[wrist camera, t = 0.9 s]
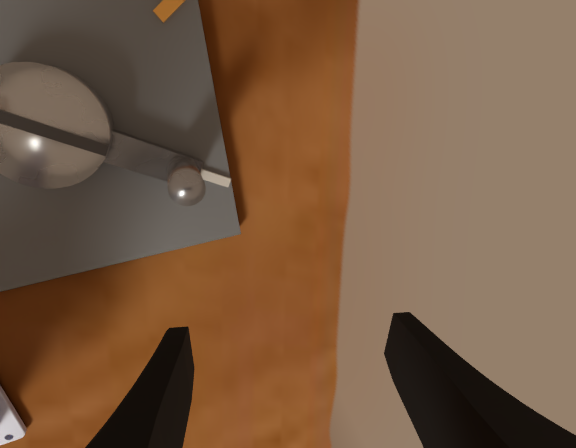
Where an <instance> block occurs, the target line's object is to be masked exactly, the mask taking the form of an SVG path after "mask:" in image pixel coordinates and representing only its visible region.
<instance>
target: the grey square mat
mask: <svg viewBox="0 0 576 448" xmlns="http://www.w3.org/2000/svg"><path fill="white" fill-rule="evenodd" d="M11 62H35V63H40V64H45V65H49V66H54V67H58V68H61V69H64V70H67V71H69V72H71V73H73V74H75V75H77V76H78V77H80V78H82V79H83V80H84V81H86V82H87V83H88V84H90V85H91V86H92V87H93V88H94V89H95V90H96V91H97V92H98V94H99V95H100V96H101V97H102V99H103V100H104V102H105V103H106V105H107V107H108V109H109V111H110V114H111V117H112V121H113V126H114V129H115V130H118V131H121V132H124V133H127V134H130V135H132V136H135V137H138V138H141V139H144V140H147V141H150V142H153V143H155V144H158V145H161V146H164V147H167V148H170V149H173V150H176V151H179V152H181V153H184V154H187V155H190V156H193V157H196V158H199V159H202V161H203V165H202V168H201V171H200V174H201V176H202V178H203V180H204V182H205V186H206V192H205V195H204V197H203V199H202V200H201V201H200V202H199V203H197V204H195V205H193V206H181V205H179V204H177V203H175V202H174V201H173V200H172V199H171V197H170V195H169V193H168V183H167V181H163V180H160V179H157V178H154V177H150V176H147V175H144V174H141V173H137V172H134V171H131V170H127V169H124V168H121V167H118V166H114V165H111V164H108V163H105V162H103V163H102V164H101V165H100V167H99V168H98V169H97V170H96V171H95V172H94V173H93V174H92V175H91V176H89V177H88V178H87V179H85V180H83V181H81V182H79V183H77V184H74V185H72V186H67V187H63V188H51V189H46V188H36V187H32V186H27V185H24V184H21V183H18V182H16V181H13V180H11V179H9V178H7V177H5V176H3V175H2V174H0V292H1V291H5V290H9V289H14V288H18V287H22V286H26V285H30V284H34V283H39V282H43V281H47V280H51V279H55V278H59V277H64V276H68V275H72V274H76V273H80V272H84V271H89V270H93V269H97V268H101V267H105V266H109V265H113V264H118V263H122V262H126V261H130V260H134V259H138V258H143V257H147V256H151V255H155V254H159V253H163V252H168V251H172V250H176V249H180V248H184V247H188V246H193V245H197V244H201V243H205V242H209V241H213V240H218V239H222V238H226V237H230V236H234V235H238V234H241V232H240V227H239V221H238V216H237V210H236V205H235V200H234V194H233V189H232V183H231V178H230V172H229V167H228V162H227V156H226V151H225V145H224V140H223V134H222V129H221V123H220V118H219V113H218V107H217V102H216V96H215V91H214V85H213V80H212V74H211V69H210V64H209V58H208V53H207V47H206V42H205V36H204V31H203V25H202V20H201V15H200V9H199V4H198V0H0V65H2V64H5V63H11Z"/></svg>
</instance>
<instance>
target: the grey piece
mask: <svg viewBox="0 0 576 448" xmlns="http://www.w3.org/2000/svg"><path fill="white" fill-rule="evenodd" d="M103 162H105V163H108V164H111V165H114V166H118V167H121V168H124V169H127V170H131V171H134V172H137V173H141V174H144V175H147V176H150V177H154V178H157V179H160V180H163V181H167V183H168V193H169V195H170V197H171V199H172V200H173V201H174V202H175V203H177V204H179V205H181V206H193V205H195V204H197V203H199V202H200V201H201V200H202V199H203V197H204V195H205V192H206V186H205V182H204V180H203V178H202V176H201V174H200V171H201V168H202V165H203V161H202V159H199V158H196V157H193V156H190V155H187V154H184V153H181V152H179V151H176V150H173V149H170V148H167V147H164V146H161V145H158V144H155V143H153V142H150V141H147V140H144V139H141V138H138V137H135V136H132V135H130V134H127V133H124V132H121V131H118V130H115V129H114V126H113V121H112V117H111V114H110V111H109V109H108V107H107V105H106V103H105V102H104V100H103V99H102V97H101V96H100V95H99V94H98V92H97V91H96V90H95V89H94V88H93V87H92V86H91V85H90V84H88V83H87V82H86V81H84V80H83V79H82V78H80V77H78V76H77V75H75V74H73V73H71V72H69V71H67V70H64V69H61V68H58V67H54V66H49V65H45V64H40V63H35V62H11V63H5V64H2V65H0V174H2V175H3V176H5V177H7V178H9V179H11V180H13V181H16V182H18V183H21V184H24V185H27V186H32V187H36V188H46V189H51V188H63V187H67V186H72V185H74V184H77V183H79V182H81V181H83V180H85V179H87V178H88V177H89V176H91V175H92V174H93V173H94V172H95V171H96V170H97V169H98V168H99V167H100V165H101V164H102V163H103Z"/></svg>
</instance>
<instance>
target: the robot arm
mask: <svg viewBox="0 0 576 448" xmlns="http://www.w3.org/2000/svg"><path fill="white" fill-rule="evenodd" d="M384 355H385V358H386V361H387V364H388V367H389V370H390V373H391V376H392V379H393V382H394V384H395V386H396V389H397V391H398V393H399V395H400V397H401V400H402V402H403V404H404V406H405V408H406V410H407V413H408V415H409V417H410V419H411V421H412V423H413V425H414V428H415V429H416V432H417V434H418V436H419V438H420V440H421V442H422V444H423V447H424V448H576V435H574V434H572V433H571V432H569V431H567V430H565V429H563V428H562V427H560V426H558V425H557V424H555V423H554V422H552V421H550V420H548V419H547V418H545V417H544V416H542V415H540V414H539V413H537V412H536V411H534V410H533V409H531V408H529V407H528V406H526V405H525V404H523V403H522V402H520V401H519V400H517V399H516V398H515V397H513V396H512V395H510V394H509V393H507V392H506V391H504V390H503V389H501V388H500V387H499V386H497V385H496V384H494V383H493V382H492V381H490V380H489V379H488V378H486V377H485V376H484V375H483V374H481V373H480V372H479V371H478V370H476V369H475V368H474V367H472V366H471V365H470V364H469V363H468V362H466V361H465V360H464V359H463V358H461V357H460V356H459V355H458V354H457V353H455V352H454V351H453V350H452V349H451V348H450V347H448V346H447V345H446V344H445V343H444V342H443V341H441V340H440V339H439V338H438V337H437V336H436V335H435V334H434V333H433V332H431V331H430V330H429V329H428V328H427V327H426V326H425V325H424V324H422V323H421V322H420V321H419V320H418V319H417V318H416V317H414V316H413V315H412V314H411V313H410V312H404V313H393V317H392V321H391V326H390V330H389V334H388V339H387V343H386V347H385V352H384ZM193 379H194V363H193V356H192V349H191V342H190V335H189V328H188V327H176V328H169V329H168V330H167V331H166V333H165V335H164V337H163V338H162V340H161V342H160V344H159V345H158V347H157V349H156V351H155V352H154V354H153V356H152V357H151V359H150V361H149V362H148V364H147V365H146V367H145V368H144V370H143V371H142V373H141V375H140V376H139V378H138V379H137V381H136V382H135V384H134V385H133V387H132V388H131V390H130V391H129V392H128V394H127V395H126V396H125V398H124V399H123V401H122V402H121V403H120V405H119V406H118V407H117V409H116V410H115V412H114V413H113V414H112V415H111V417H110V418H109V419H108V421H107V422H106V423H105V424H104V426H103V427H102V428H101V429H100V431H99V432H98V433H97V434H96V435H95V437H94V438H93V439H92V440H91V441H90V443H89V444H88V445H87V446H86V447H85V448H182V447H183V442H184V437H185V432H186V427H187V421H188V416H189V411H190V406H191V400H192V390H193ZM26 431H27V428H26V426H25V425H24V423H23V421H22V420H21V418H20V417H19V415H18V413H17V412H16V410H15V408H14V407H13V405H12V403H11V402H10V400H9V399H8V397H7V395H6V394H5V392H4V390H3V389H2V387H1V385H0V445H3V444H5V443H8V442H11V441H14V440H17V439H20V438H22V437H23V436H25V433H26ZM9 434H10V435H9Z"/></svg>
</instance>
